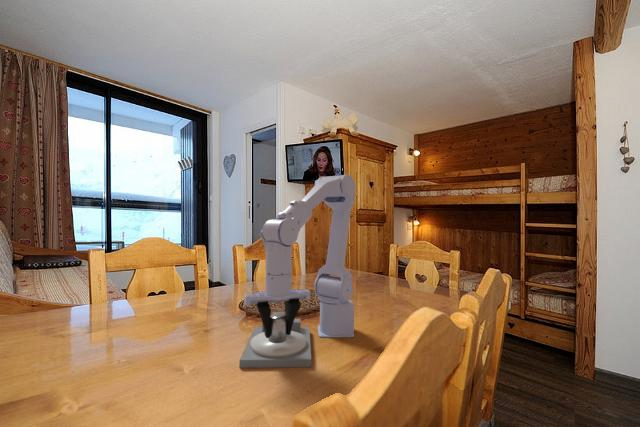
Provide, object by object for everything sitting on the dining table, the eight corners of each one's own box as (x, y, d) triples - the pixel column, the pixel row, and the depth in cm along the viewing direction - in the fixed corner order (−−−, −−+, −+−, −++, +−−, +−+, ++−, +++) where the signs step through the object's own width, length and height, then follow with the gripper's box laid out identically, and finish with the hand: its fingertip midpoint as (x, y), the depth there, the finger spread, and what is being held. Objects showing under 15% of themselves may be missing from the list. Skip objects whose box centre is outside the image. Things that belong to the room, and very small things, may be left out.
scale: (309, 332, 81) (309, 317, 81) (311, 367, 62) (311, 347, 62) (254, 332, 80) (254, 318, 80) (239, 367, 61) (239, 348, 61)
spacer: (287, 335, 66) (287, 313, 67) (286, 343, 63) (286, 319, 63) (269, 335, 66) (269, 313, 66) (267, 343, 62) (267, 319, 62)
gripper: (303, 268, 71) (302, 324, 71) (242, 271, 66) (241, 332, 65) (314, 273, 65) (313, 335, 64) (247, 277, 59) (246, 345, 59)
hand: (277, 334), depth 64 cm, fingers closed on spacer, 4 cm apart
